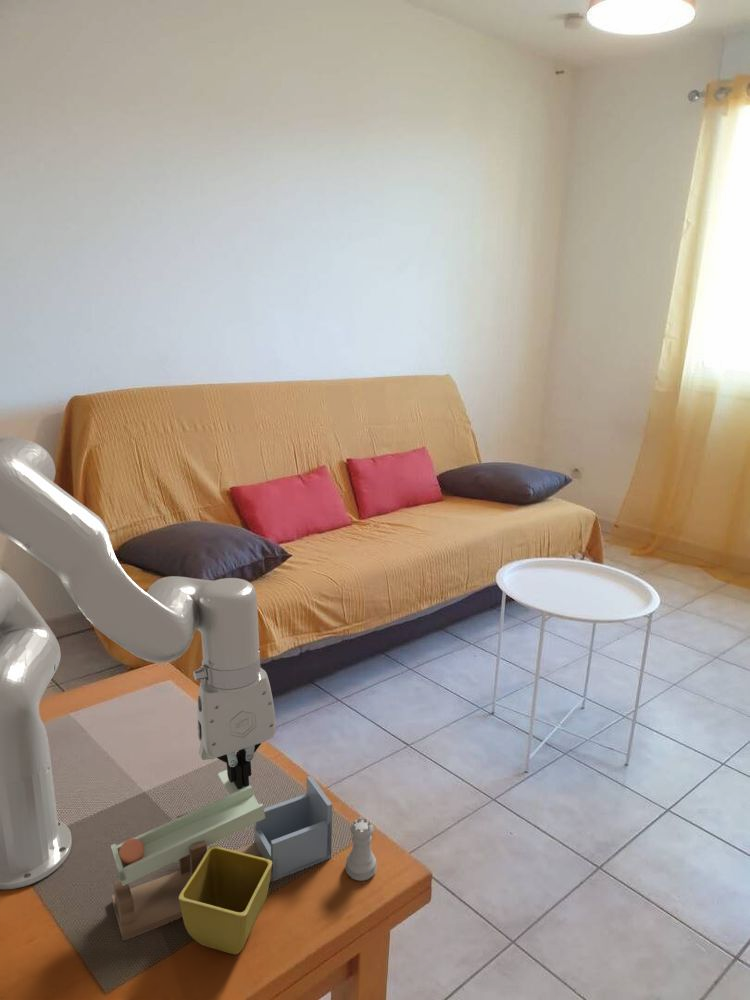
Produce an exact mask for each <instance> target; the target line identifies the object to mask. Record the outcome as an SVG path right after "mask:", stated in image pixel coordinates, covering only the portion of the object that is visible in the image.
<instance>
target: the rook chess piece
mask: <svg viewBox="0 0 750 1000" xmlns="http://www.w3.org/2000/svg"><path fill="white" fill-rule="evenodd" d="M350 832H351V834H352V836H351V840H352V842H353V843H352V849H351V850H350V852H349V854H348V856H347V858H346V860H345V861H346V862H345V868H344V869H345V871H346V874H347V875H348V876H349V877H350V878H351V879H353V880H355V881H357V882H358V881H359V882H361V881H362V882H364V881H368V880H369V879H371V878H373V876H375V874H376V873H377V869H378V867H377V859H376V857H375V854H374V852H373V851H372V846H371V845H372V844H371V842H372V841H373V837H372V835H373V834H374V832H375V828H374V825H373V823H372V820H369V819H368V817H364V818H363V819H362V817H358V818H357V819H354V821H353V824H352V825H351V826H350Z"/></svg>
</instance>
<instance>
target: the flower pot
mask: <svg viewBox="0 0 750 1000" xmlns="http://www.w3.org/2000/svg"><path fill="white" fill-rule="evenodd" d="M233 850H234V849H228V848H225V847H221V846H218V845H217V846H216V845H215V846H214V845H211V846H209V847H208V848H207V852H206V854H205V855H204V857H203V859H202V860H201V862H200V864H199V865H198V867H197V869H196V870H195V872H194V874H193V875H192V876H191V878H190V879H189V881H188V882H187V884H186V886H185V887H184V889H183V890H182V891H181V893H180V895H179V898H178V899H179V903H180V908H181V912H182V920H183V924H184V927H185V929H186V931H187V933H188V934H189V936H190V937H191V938H192V939H193V940H194V941H196V943H199V944H200V945H201V946H204V947H206V948H211V949H213V950H217V951H220V952H224V953H228V954H232V955H238V954H239V953H240V952H241V951H242V950H243V949H244V946H245V944H246V943H247V941H248V939H249V935H250V934H251V932H252V929H253V927H254V926H255V923H256V921H257V919H258V918H259V916H260V913H261V912H262V909H263V907H264V905H265V903H266V899H267V896H268V893H269V888H270V887H269V886H270V883H271V882H270V875H271V868H272V861H271V860H269V859H265V858H262V857H257V856H253V855H249V854H245V853H241V852H237V851H233Z"/></svg>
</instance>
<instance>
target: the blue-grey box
mask: <svg viewBox="0 0 750 1000" xmlns="http://www.w3.org/2000/svg"><path fill="white" fill-rule="evenodd" d="M264 813H265V819H263V820H261V821H258V822H256V823H254V824H253V831H254V832H253V835H254V843H255V844H256V846H257V847H258V849H259V851H260V853H261V855H262V856H263V858H265V859H269V860H271V861H272V868H271V873H272V875H273V881H272V882H275V881H277V880H280V879H283V878H285V877H288V876H290V875H292V874H294V873H297V872H300V871H302V870H304V868H305V869H307V868H309V866H310V867H312V866H315V865H317V864H319V863H322V862H325V861H327V860H329V859H332V842H333V841H332V836H333V832H332V831H333V803H332V802H331V800H330V799H329V797H328V796H327V795H326V794H325V792H324V790H323V789H322V788H321V786H320V785H319V784H318V783H317V781H316V780H315V778H314V777H313V776H312V775H308V776H306V793H304V794H302V795H301V794H300V795H299V796H296V797H292V798H290V799H287V800H283V801H281V802H279V803H276V804H272V805H270V806H268V807H264ZM314 864H315V865H314ZM299 870H300V871H299ZM296 871H297V872H296ZM289 874H290V875H289ZM287 875H288V876H287ZM284 876H285V877H284ZM282 877H283V878H282ZM279 878H280V879H279Z"/></svg>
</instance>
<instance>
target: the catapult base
mask: <svg viewBox="0 0 750 1000" xmlns="http://www.w3.org/2000/svg"><path fill="white" fill-rule="evenodd" d="M190 812H191V811H190ZM190 812H186V813H183V814H180V815H178V816H176V819H177V818H179V817H181V816H183V815H185V814H188V813H190ZM189 848H190V854H189V855H187V856H185V857H183V858H181V859H179V860H178V865H179V870H177V871H174V872H172V873H169V874H167V875H163V876H162V877H159V878H156V879H152V880H150V881H148V882H145V883H142V884H139V885H137V886H134V887H132V888H130V885H129V884H130V883H128V884H126V885H124V886H122V883H121V879H120V878H119V879H118V880H115V881H113V890H114V891H113V893H114V894H112V895H111V902H112V906H113V910H114V914H115V916H116V917H115V918H116V920H117V924H118V927H119V932H120V934H121V939H122V942H125V941H128V940H130V939H132V938H135V937H138V936H140V935H142V934H145V933H147V932H150V931H152V930H155V929H157V928H159V927H162V926H165V925H167V924H170V923H172V922H175V921H177V920H179V918H180V919H182V918H183V917H182V912H181V908H180V903H179V899H178V898H179V895H180V893H181V891H182V890H183V889H184V887H185V886H186V884H187V882H188V881H189V879H190V878H191V876H192V875H193V874H194V872H195V870H196V869H197V867H198V865H199V864H200V862H201V860H202V859H203V857H204V855H205V854H206V852H207V850H208V846H207V845H206V842H205V841H203V842H200V843H197V844H194V845H192V846H189ZM232 850H233V851H237V852H241V853H245V854H249V855H253V856H257V857H262V858H263V856H262V855H261V853H260V851H259V849H258V847H257V846H256V844H255V842H252V843H250V844H247V845H245V846H242V847H239V848H236V849H232ZM271 882H274V881H273V875H272V873H271V875H270V882H269V883H271ZM181 917H182V918H181ZM174 920H175V921H174ZM169 922H170V923H169Z"/></svg>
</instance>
